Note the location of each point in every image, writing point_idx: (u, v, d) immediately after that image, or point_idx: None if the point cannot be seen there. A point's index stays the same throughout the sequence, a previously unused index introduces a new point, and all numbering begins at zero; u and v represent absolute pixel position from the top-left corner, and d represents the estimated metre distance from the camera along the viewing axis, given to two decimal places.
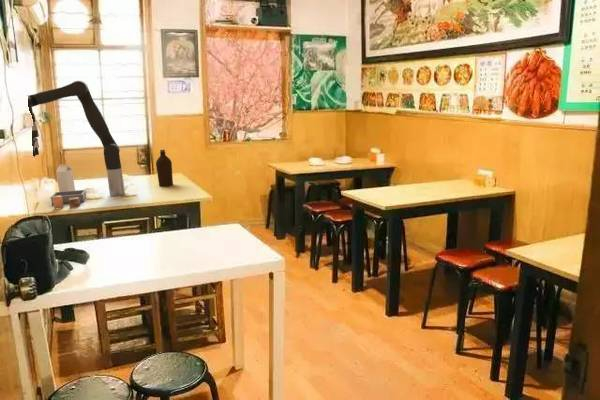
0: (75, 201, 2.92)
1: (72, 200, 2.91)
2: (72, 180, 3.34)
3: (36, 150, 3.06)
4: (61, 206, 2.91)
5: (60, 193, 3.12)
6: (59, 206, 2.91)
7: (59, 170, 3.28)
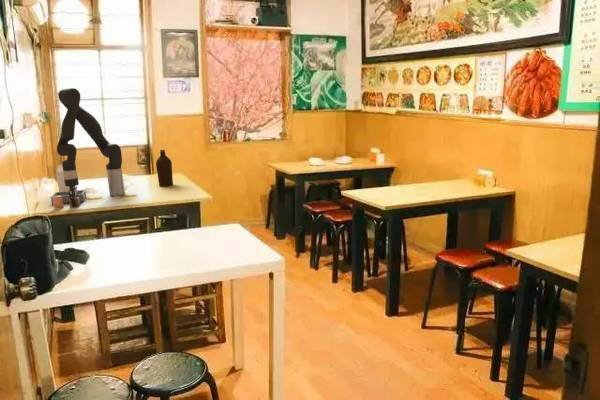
0: None
1: None
2: None
3: None
4: (61, 206, 2.91)
5: (60, 193, 3.12)
6: (59, 206, 2.91)
7: (59, 170, 3.28)
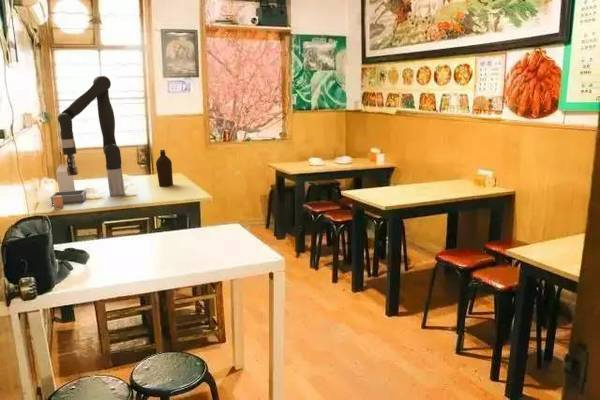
0: None
1: None
2: (72, 180, 3.34)
3: None
4: (61, 206, 2.91)
5: (60, 193, 3.12)
6: (59, 206, 2.91)
7: (59, 170, 3.28)
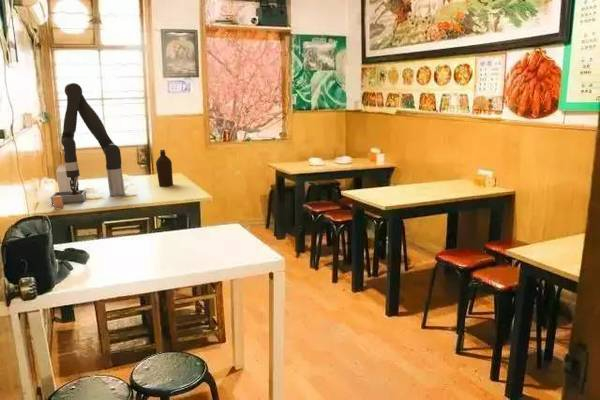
0: None
1: None
2: None
3: (76, 188, 3.12)
4: (61, 206, 2.91)
5: (60, 193, 3.12)
6: (59, 206, 2.91)
7: (59, 170, 3.28)
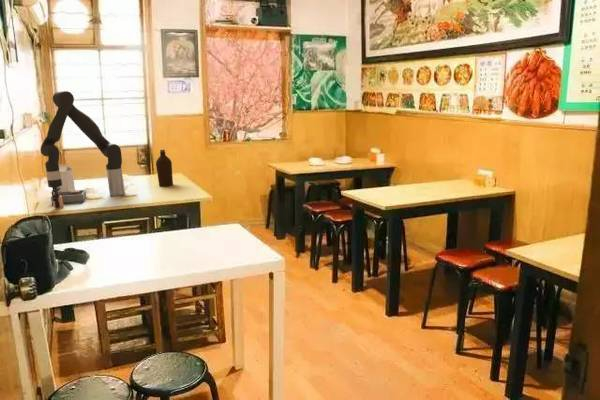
0: (76, 193, 3.06)
1: (73, 193, 3.06)
2: (72, 180, 3.34)
3: None
4: (61, 206, 2.91)
5: None
6: None
7: None
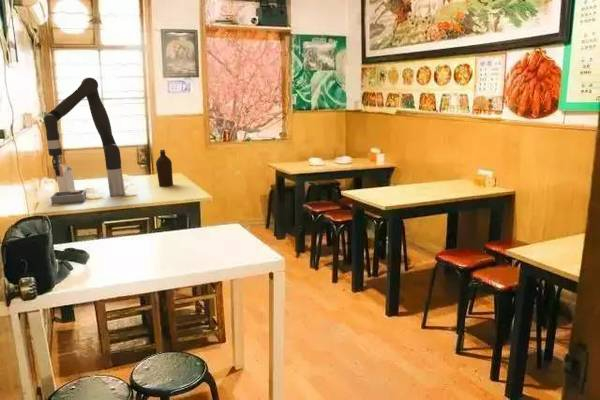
0: (76, 193, 3.06)
1: (73, 193, 3.06)
2: (72, 180, 3.34)
3: None
4: (61, 174, 3.02)
5: (60, 193, 3.12)
6: None
7: None
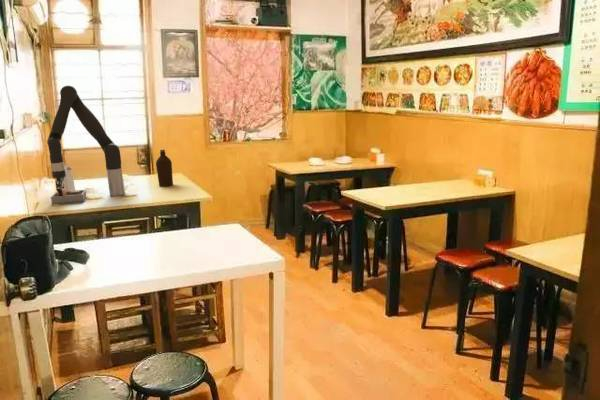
0: (76, 193, 3.06)
1: (73, 193, 3.06)
2: (72, 180, 3.34)
3: None
4: None
5: None
6: None
7: None
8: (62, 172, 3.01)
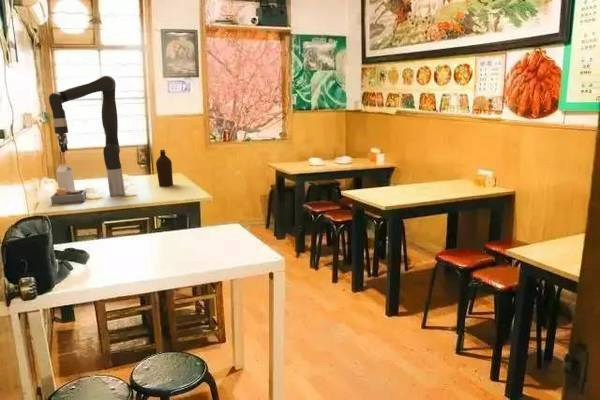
0: (76, 193, 3.06)
1: (73, 193, 3.06)
2: (72, 180, 3.34)
3: (65, 146, 3.13)
4: None
5: None
6: None
7: (59, 170, 3.28)
8: (64, 128, 3.04)
